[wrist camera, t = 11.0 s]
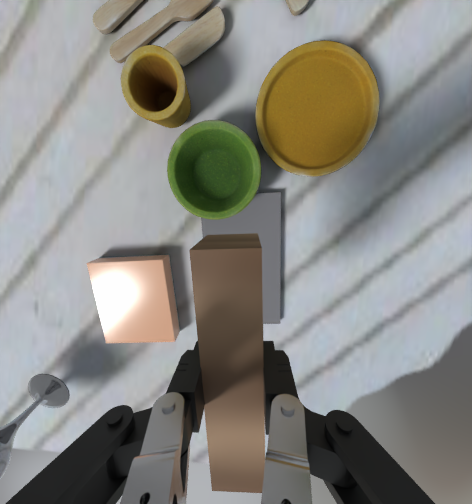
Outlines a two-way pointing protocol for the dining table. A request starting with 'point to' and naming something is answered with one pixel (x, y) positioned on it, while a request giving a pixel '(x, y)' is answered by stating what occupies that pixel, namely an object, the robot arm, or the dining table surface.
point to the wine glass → (44, 393)
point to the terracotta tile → (135, 298)
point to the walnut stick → (231, 357)
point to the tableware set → (267, 108)
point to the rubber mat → (269, 231)
